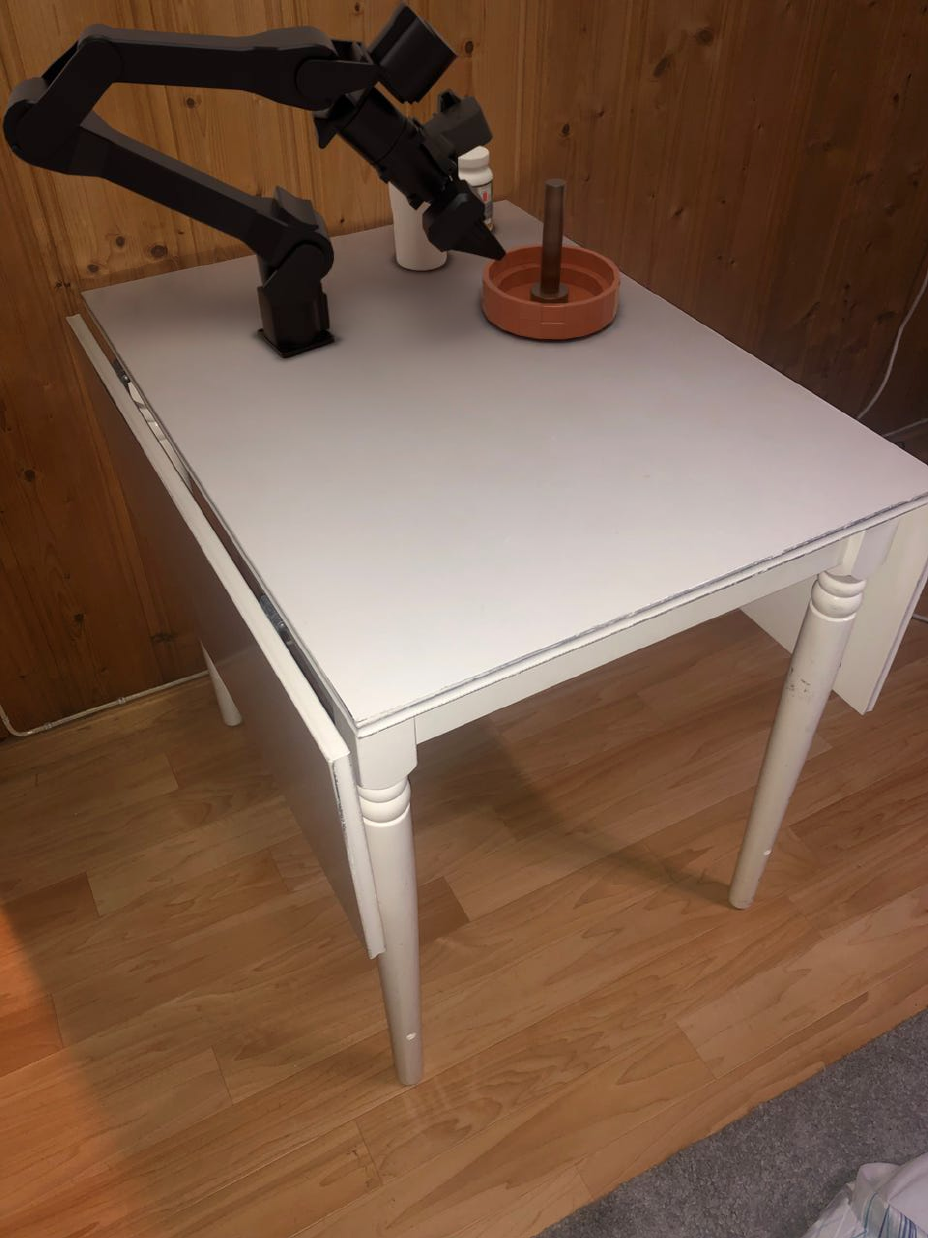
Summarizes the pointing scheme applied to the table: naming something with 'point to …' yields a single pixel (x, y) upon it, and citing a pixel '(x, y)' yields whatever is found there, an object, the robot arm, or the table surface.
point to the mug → (412, 235)
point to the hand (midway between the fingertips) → (492, 238)
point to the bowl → (583, 314)
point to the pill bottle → (479, 178)
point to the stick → (552, 247)
